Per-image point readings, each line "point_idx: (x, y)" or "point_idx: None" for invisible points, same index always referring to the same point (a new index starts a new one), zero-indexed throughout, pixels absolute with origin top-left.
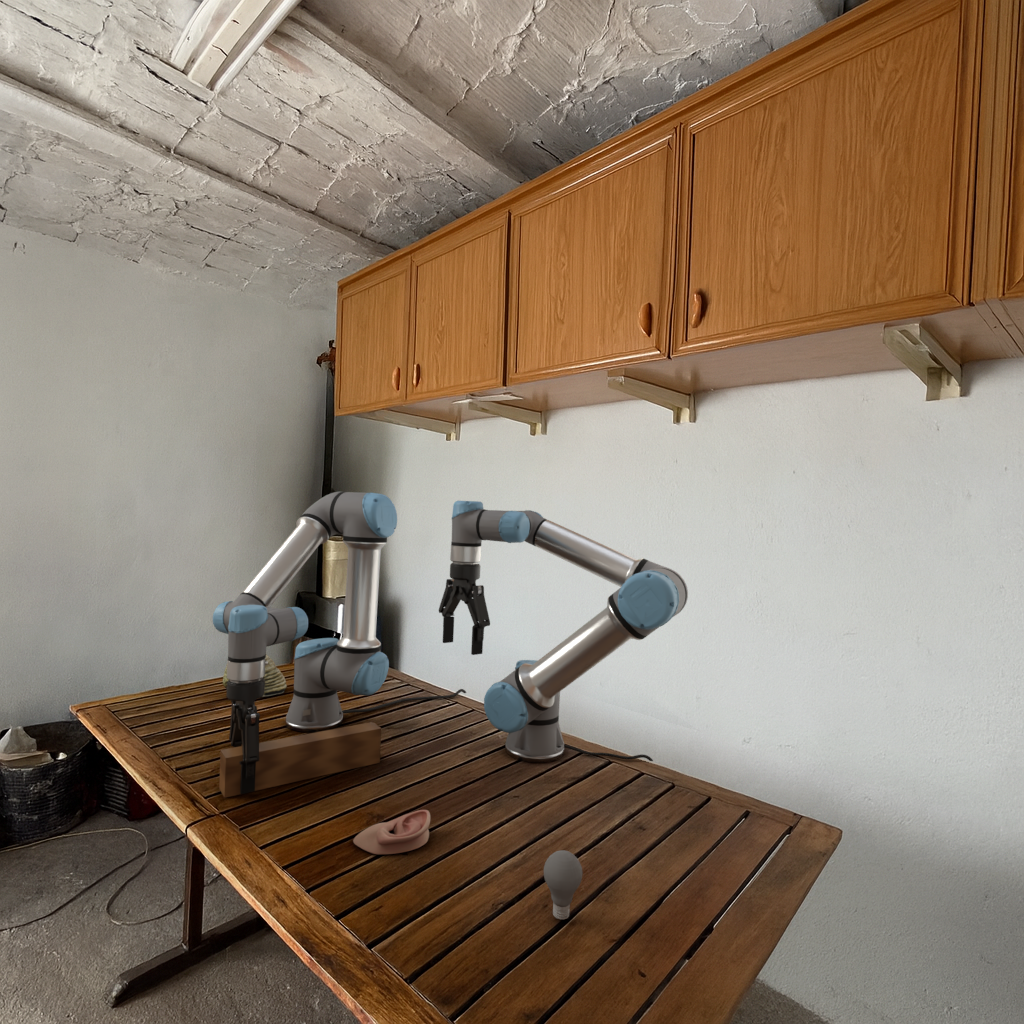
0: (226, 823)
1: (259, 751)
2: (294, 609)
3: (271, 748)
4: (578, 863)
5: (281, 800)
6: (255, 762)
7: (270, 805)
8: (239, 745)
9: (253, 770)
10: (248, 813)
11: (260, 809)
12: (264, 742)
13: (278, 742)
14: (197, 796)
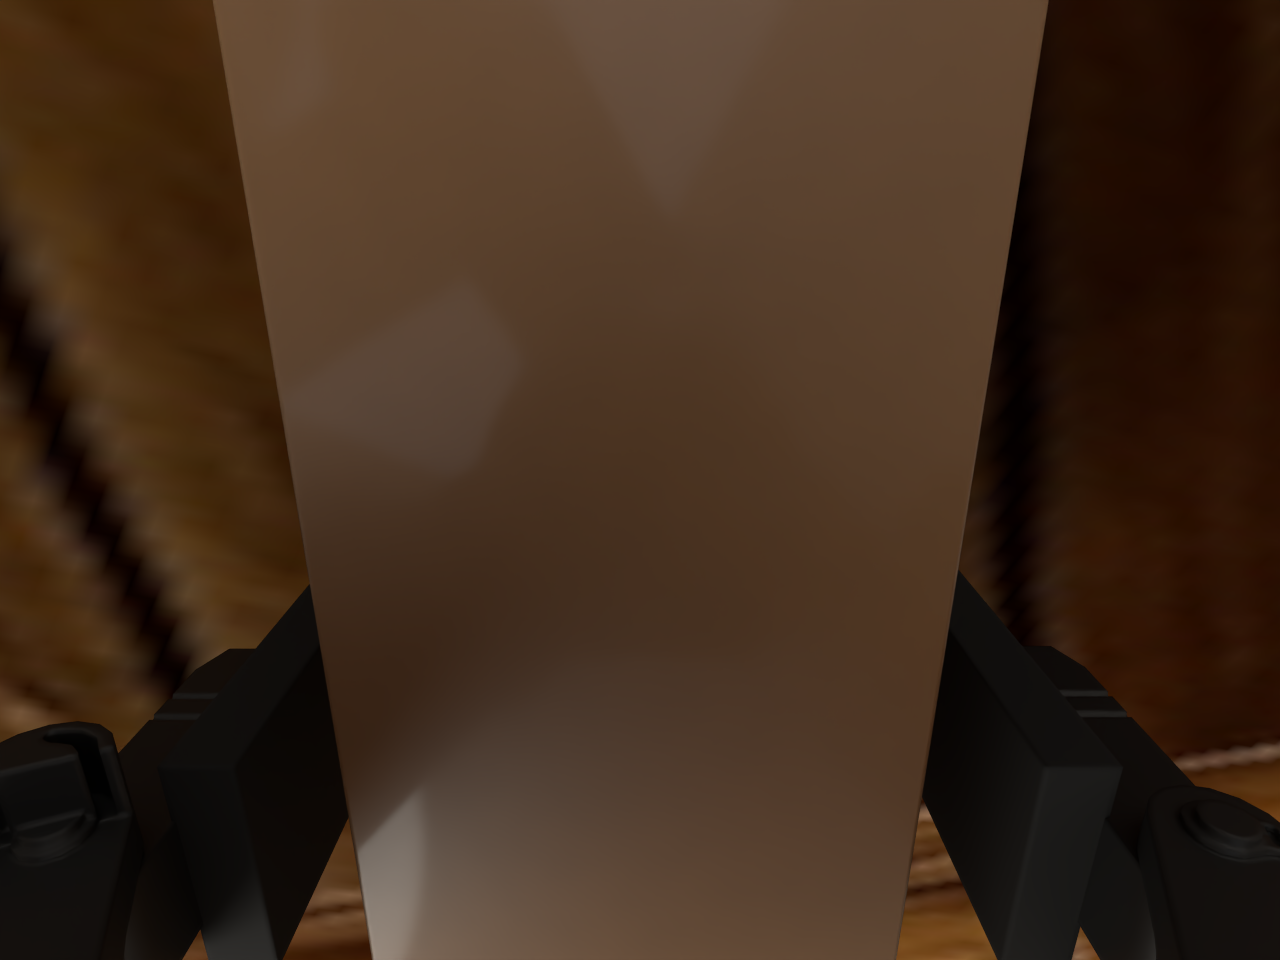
0: (1242, 796)
1: (926, 705)
2: None
3: (927, 397)
4: None
5: (1195, 257)
6: (1099, 743)
7: (1216, 400)
8: (174, 869)
9: (1134, 726)
10: (1212, 620)
11: (1222, 509)
12: (343, 447)
13: (526, 30)
14: None
